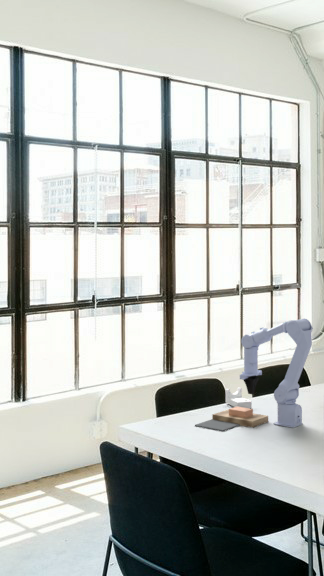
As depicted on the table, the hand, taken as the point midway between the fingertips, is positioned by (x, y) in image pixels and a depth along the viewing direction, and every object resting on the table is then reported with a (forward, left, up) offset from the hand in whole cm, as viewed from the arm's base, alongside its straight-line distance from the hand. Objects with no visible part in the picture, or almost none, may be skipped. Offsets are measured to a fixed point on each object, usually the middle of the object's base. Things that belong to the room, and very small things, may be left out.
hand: (251, 393), depth 290 cm
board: (0, +9, -10) cm, 13 cm away
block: (0, +8, -8) cm, 11 cm away
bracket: (+16, -15, -11) cm, 24 cm away
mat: (+3, +21, -10) cm, 23 cm away
